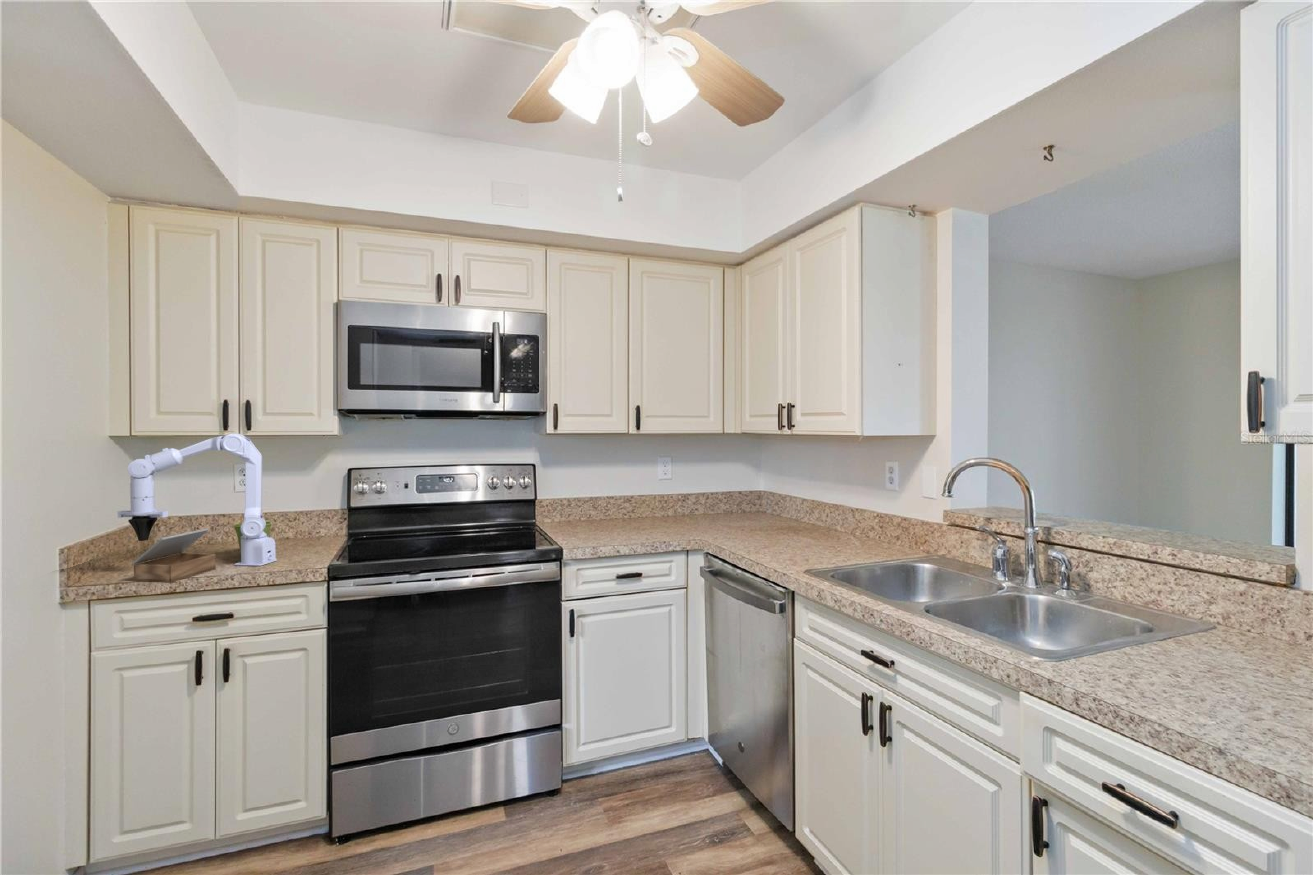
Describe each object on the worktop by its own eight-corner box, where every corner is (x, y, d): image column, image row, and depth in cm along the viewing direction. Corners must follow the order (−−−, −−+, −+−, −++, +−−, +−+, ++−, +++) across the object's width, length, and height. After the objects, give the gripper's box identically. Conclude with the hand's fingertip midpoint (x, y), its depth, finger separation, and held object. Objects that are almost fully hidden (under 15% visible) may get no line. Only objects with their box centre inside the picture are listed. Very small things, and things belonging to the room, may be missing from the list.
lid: (209, 529, 194) (207, 528, 194) (162, 539, 177) (161, 537, 177) (181, 552, 195) (180, 550, 195) (133, 564, 178) (131, 562, 178)
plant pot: (276, 555, 215) (276, 523, 214) (236, 560, 206) (236, 527, 206) (269, 550, 223) (268, 519, 223) (230, 554, 215) (229, 523, 215)
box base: (215, 569, 193) (215, 553, 193) (171, 582, 178) (170, 565, 177) (181, 568, 195) (181, 553, 194) (134, 581, 179) (133, 564, 179)
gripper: (175, 495, 191) (176, 538, 192) (131, 495, 192) (132, 537, 192) (156, 498, 184) (157, 542, 185) (110, 498, 185) (111, 542, 185)
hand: (143, 540), depth 188 cm, fingers closed
